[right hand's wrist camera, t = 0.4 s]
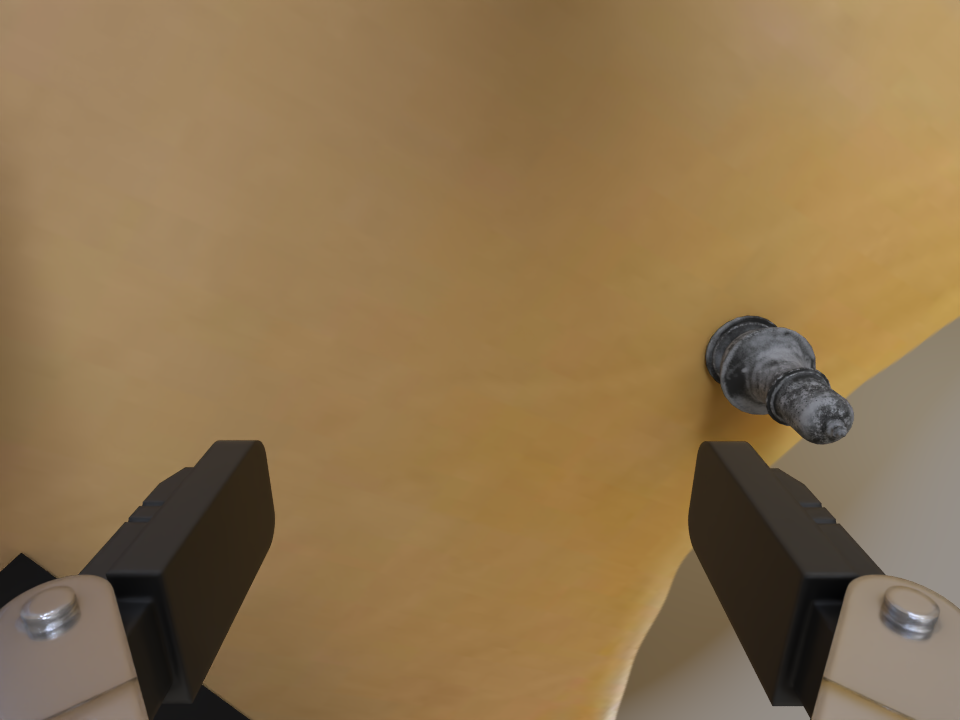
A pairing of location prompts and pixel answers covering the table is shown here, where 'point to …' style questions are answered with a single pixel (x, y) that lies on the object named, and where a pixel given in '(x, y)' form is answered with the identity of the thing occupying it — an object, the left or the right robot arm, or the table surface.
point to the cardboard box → (204, 716)
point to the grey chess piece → (777, 378)
